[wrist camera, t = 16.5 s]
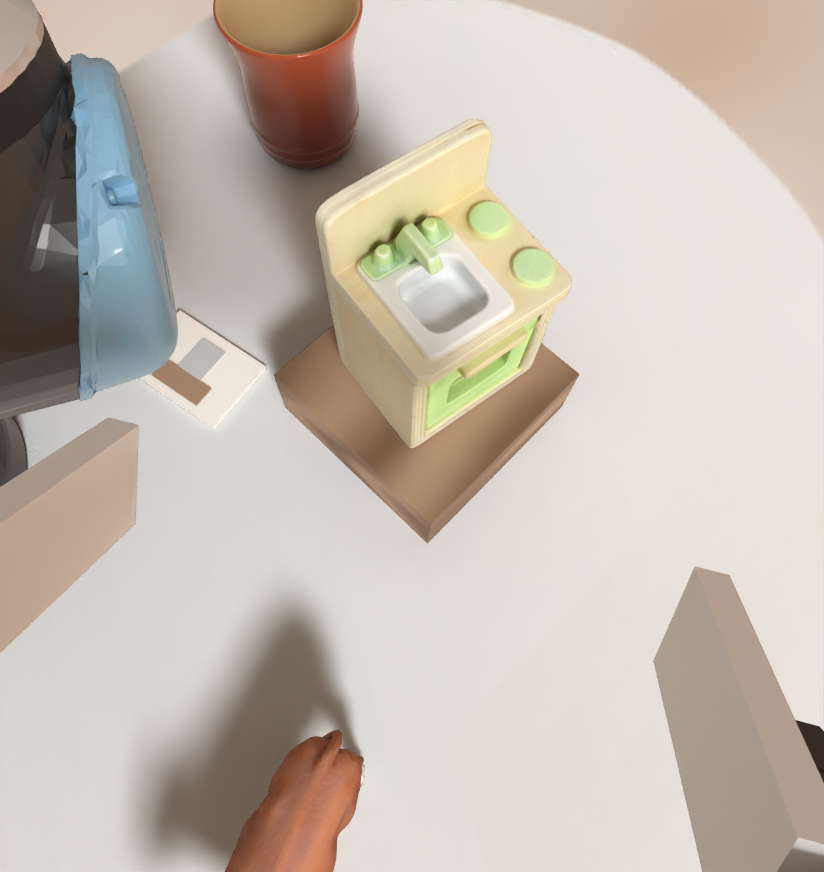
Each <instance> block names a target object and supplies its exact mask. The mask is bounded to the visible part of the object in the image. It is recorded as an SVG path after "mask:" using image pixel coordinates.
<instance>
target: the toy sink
mask: <svg viewBox="0 0 824 872" xmlns="http://www.w3.org/2000/svg"><path fill="white" fill-rule="evenodd" d="M491 140H492V136H491V131H490V129H489V128H488V127H487V125H486V124H485V123H484V122H483V121H481V120H479V119H469V120H467V121H465V122H463V123H461V124H459V125H457V126H455V127H454V128H452V129H450V130H448V131H446V132H444V133H443V134H441V135H439V136H437V137H435V138H434V139H432V140H430V141H428V142H426V143H425V144H423V145H421V146H419V147H417V148H416V149H414V150H412V151H410V152H408V153H406V154H405V155H403V156H401V157H399V158H397V159H396V160H394V161H392V162H391V163H389V164H387V165H385V166H383V167H381V168H380V169H378V170H376V171H374V172H372V173H370V174H369V175H367V176H365V177H363V178H362V179H360V180H358V181H357V182H355V183H353V184H351V185H349V186H348V187H346V188H344V189H343V190H341V191H339V192H338V193H336V194H334V195H333V196H331V197H330V198H328V199H327V200H326V201H325V202H324V203H322V205H321V206H320V207H319V208H318V210H317V212H316V216H315V225H316V230H317V236H318V242H319V248H320V254H321V259H322V265H323V271H324V277H325V281H326V287H327V293H328V298H329V303H330V308H331V314H332V319H333V324H334V329H335V334H336V339H337V345H338V350H339V354H340V358H341V361H342V362H343V364H344V365H345V367H346V368H347V369H348V370H349V372H350V373H351V374H352V375H353V377H354V378H355V379H356V381H357V382H358V383H359V384H360V386H361V387H362V388H363V390H364V391H365V392H366V394H367V395H368V396H369V398H370V399H371V400H372V401H373V403H374V404H375V405H376V407H377V408H378V409H379V410H380V412H381V413H382V414H383V415H384V417H385V418H386V419H387V420H388V422H389V423H390V424H391V425H392V427H393V428H394V429H395V431H396V432H397V433H398V434H399V436H400V437H401V438H402V439H403V441H404V442H405V443H406V444H407V445H408V446H409V447H410V448H414V447H417V446H418V445H420V444H421V443H423V442H424V441H426V440H427V439H429V438H430V437H432V436H433V435H435V434H436V433H437V432H439V431H440V430H442V429H443V428H445V427H446V426H448V425H449V424H450V423H452V422H453V421H455V420H456V419H458V418H459V417H461V416H462V415H464V414H465V413H466V412H468V411H469V410H471V409H472V408H474V407H475V406H477V405H478V404H479V403H481V402H482V401H484V400H485V399H487V398H488V397H490V396H491V395H493V394H494V393H495V392H497V391H498V390H500V389H501V388H503V387H504V386H506V385H507V384H509V383H510V382H511V381H513V380H514V379H516V378H517V377H518V376H520V375H521V374H523V373H524V372H526V371H527V370H528V369H529V368H530V367H531V365H532V364H533V361H534V359H535V356H536V354H537V351H538V349H539V346H540V344H541V341H542V339H543V337H544V334H545V332H546V329H547V326H548V324H549V321H550V318H551V316H552V314H553V311H554V308H555V306H556V305H557V304H558V303H559V302H561V301H562V300H563V299H565V297H566V296H567V294H568V292H569V290H570V288H571V284H572V280H571V277H570V275H569V273H568V272H567V271H566V270H565V269H564V268H563V267H562V266H561V265H560V264H559V263H558V262H557V261H556V260H555V259H554V258H553V257H552V255H551V254H550V253H549V252H548V251H547V250H546V249H545V248H544V247H543V246H542V245H541V244H540V242H539V241H538V240H537V239H536V238H535V237H534V236H533V235H532V234H531V233H530V232H529V231H528V230H527V229H526V228H525V227H524V226H523V224H522V223H521V222H520V221H519V220H518V219H517V218H516V217H515V216H514V215H513V214H512V213H511V212H510V211H509V210H508V208H507V207H506V206H505V205H504V204H503V203H502V202H501V201H500V200H499V199H498V198H497V197H496V196H495V195H494V194H493V193H492V191H491V190H490V189H489V188H488V187H487V186H486V184H485V178H486V172H487V166H488V159H489V153H490V147H491Z"/></svg>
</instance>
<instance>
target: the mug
mask: <svg viewBox="0 0 824 872" xmlns="http://www.w3.org/2000/svg"><path fill="white" fill-rule="evenodd" d="M362 8H363V3H362V0H214V4H213V12H214V18H215V21H216V24H217V26H218V28H219V30H220V32H221V34H222V35H223V37H224V38H225V40H226V41H227V43H228V44H229V46H230V48H231V49H232V51H233V53H234V55H235V57H236V58H237V61H238V63H239V66H240V69H241V74H242V79H243V85H244V90H245V95H246V99H247V103H248V107H249V112H250V119H251V123H252V125H253V128H254V129H255V132H256V135H257V137H258V139H259V140H260V142H261V144H262V146H263V148H264V149H265V150H266V152H267V153H268V154H269V155H270V156H271V157H272V158H274V159H275V160H277V161H279V162H280V163H283V164H285V165H288V166H291V167H296V168H316V167H321V166H324V165H327V164H330V163H332V162H334V161H336V160H337V159H339V158H340V157H341V156H343V155H344V154H345V153H346V152H347V151H348V149H349V148H350V146H351V145H352V143H353V141H354V138H355V133H356V125H357V119H358V113H359V107H358V101H357V89H356V77H355V69H354V61H353V48H354V42H355V38H356V34H357V30H358V27H359V23H360V20H361V15H362Z"/></svg>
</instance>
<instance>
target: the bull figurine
mask: <svg viewBox="0 0 824 872" xmlns="http://www.w3.org/2000/svg"><path fill="white" fill-rule="evenodd" d="M341 744H342V733H341V731H340V730H334V731H332V732H330V733H328V734H327V735H325V736H324V737H322V738H321V737H317V736H315V737H311V738H309V739H307V740H305V741H304V742H302V743H301V744H299V745H298V746H296V747H295V748H294V749H293V750H292V751H291V752H290V753H289V754H288V755H287V756H286V758H285V760H284V762H283V764H282V765H281V766H280V768H279V769H278V770H277V772H276V773H275V775H274V777H273V778H272V781H271V784H270V787H269V794H268V795H267V797H266V798H265V799H264V801H263V802H262V804H261V805H260V807H259V808H258V809H257V810H256V811H255V812H254V813H253V814H252V816H251V817H250V818H249V819H248V821H247V822H246V824H245V826H244V828H243V830H242V832H241V835H240V837H239V840H238V843H237V845H236V848H235V850H234V852H233V855H232V857H231V859H230V861H229V864H228V866H227V868H226V870H225V872H333V870H334V866H335V861H336V852H337V837H338V835H339V833H340V832H341V831H342V830H343V829H344V828H345V827H346V826H347V825H348V824H349V822H350V821H351V819H352V817H353V815H354V812H355V809H356V804H357V798H358V793H359V791H360V787H361V785H362V784H363V781H364V774H363V773H364V770H365V765H363V764H362V763H363V761H364V759H363V757H361V756H359V757H357V755H356V754H355V753H354V752H352V751H350V750H347V749H340V747H341Z"/></svg>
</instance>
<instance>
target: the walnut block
mask: <svg viewBox="0 0 824 872" xmlns="http://www.w3.org/2000/svg"><path fill="white" fill-rule="evenodd" d="M578 376H579V374H578V373H577V372H576V371H575V370H574V369H572V368H571V367H570V366H569V365H567V364H566V363H565V362H564V361H563V360H561V359H560V358H559V357H558V356H556V355H555V354H554V353H553V352H552V351H550V350H549V349H548V348H547V347H545V346H544V345H543V344H542V343H541V344H540V346H539V349H538V351H537V354H536V356H535V359H534V361H533V364H532V365H531V367H530V368H529V369H528V370H527V371H526V372H524V373H523V374H521V375H520V376H518V377H517V378H516V379H514V380H513V381H511V382H510V383H509V384H507V385H506V386H504V387H503V388H501V389H500V390H498V391H497V392H495V393H494V394H493V395H491V396H490V397H488V398H487V399H485V400H484V401H482V402H481V403H479V404H478V405H477V406H475V407H474V408H472V409H471V410H469V411H468V412H466V413H465V414H464V415H462V416H461V417H459V418H458V419H456V420H455V421H453V422H452V423H450V424H449V425H448V426H446V427H445V428H443V429H442V430H440V431H439V432H437V433H436V434H435V435H433V436H432V437H430V438H429V439H427V440H426V441H424V442H423V443H421V444H420V445H418V446H417V447H414V448H410V447H409V446H408V445H407V444H406V443H405V442H404V441H403V439H402V438H401V437H400V436H399V434H398V433H397V432H396V431H395V429H394V428H393V427H392V425H391V424H390V423H389V422H388V420H387V419H386V418H385V417H384V415H383V414H382V413H381V412H380V410H379V409H378V408H377V407H376V405H375V404H374V403H373V401H372V400H371V399H370V398H369V396H368V395H367V394H366V392H365V391H364V390H363V388H362V387H361V386H360V384H359V383H358V382H357V381H356V379H355V378H354V377H353V375H352V374H351V373H350V372H349V370H348V369H347V368H346V367H345V365H344V364H343V362H342V361H341V358H340V354H339V350H338V345H337V339H336V334H335V329H334V325H333V326H331V327H330V328H329V329H328V330H327V331H325V332H324V333H323V334H322V335H321V336H320V337H318V338H317V339H316V340H315V341H314V342H313V343H311V344H310V345H309V346H308V347H307V348H305V349H304V350H303V351H302V352H301V353H300V354H298V355H297V356H296V357H295V358H294V359H293V360H291V361H290V362H289V363H288V364H287V365H285V366H284V367H283V368H282V369H281V370H280V371H278V372H277V373H276V374H275V375H274V377H275V379H276V382H277V385H278V387H279V390H280V393H281V396H282V398H283V401H284V404H285V407H286V408H287V409H288V410H289V411H290V412H291V413H292V414H293V415H294V416H295V417H296V418H297V419H298V420H299V421H300V422H301V423H302V424H303V425H304V426H305V427H306V428H307V429H309V430H310V431H311V432H312V433H313V434H314V435H315V436H316V437H317V438H318V439H319V440H320V441H321V442H322V443H323V444H324V445H325V446H326V447H327V448H328V449H329V450H330V451H332V452H333V453H334V454H335V455H336V456H337V457H338V458H339V459H340V460H341V461H342V462H343V463H344V464H345V465H346V466H347V467H348V468H349V469H350V470H351V471H352V472H353V473H355V474H356V475H357V476H358V477H359V478H360V479H361V480H362V481H363V482H364V483H365V484H366V485H367V486H368V487H369V488H370V489H371V490H372V491H373V492H374V493H375V494H376V495H377V496H379V497H380V498H381V499H382V500H383V501H384V502H385V503H386V504H387V505H388V506H389V507H390V508H391V509H392V510H393V511H394V512H395V513H396V514H397V515H398V516H399V517H400V518H402V519H403V520H404V521H405V522H406V523H407V524H408V525H409V526H410V527H411V528H412V529H413V530H414V531H415V532H416V533H417V534H418V535H419V536H420V537H421V538H422V539H423V540H424V541H426V542H427V543H428V542H429V541H430V540H431V539H432V538H433V537H434V536H435V535H436V534H437V533H438V532H439V531H440V530H441V529H442V528H443V527H444V526H445V525H446V524H447V523H448V522H449V521H450V520H451V519H452V518H453V517H454V516H455V515H456V514H457V513H458V512H459V511H460V510H461V509H462V508H463V507H464V506H465V505H466V504H467V503H468V502H469V501H470V500H471V499H472V498H473V497H474V496H475V495H476V494H477V492H478V491H479V490H480V489H481V488H482V487H483V486H484V485H485V484H486V483H487V482H488V481H489V480H490V479H491V478H492V477H493V476H494V475H495V474H496V473H497V472H498V471H499V470H500V469H501V468H502V467H503V466H504V465H505V464H506V463H507V462H508V461H509V460H510V459H511V458H512V457H513V456H514V455H515V454H516V453H517V452H518V451H519V450H520V449H521V448H522V447H523V446H524V445H525V444H526V442H527V441H528V440H529V439H530V438H531V437H532V436H533V435H534V434H535V433H536V432H537V431H538V430H539V429H540V428H541V427H542V426H543V425H544V424H545V423H546V422H547V421H548V420H549V419H550V418H551V417H552V416H553V415H554V414H555V413H556V412H557V411H558V410H559V409H560V408H561V407H562V405H563V403H564V401H565V400H566V398H567V396H568V394H569V392H570V391H571V389H572V387H573V385H574V383H575V381H576V380H577V378H578Z"/></svg>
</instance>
